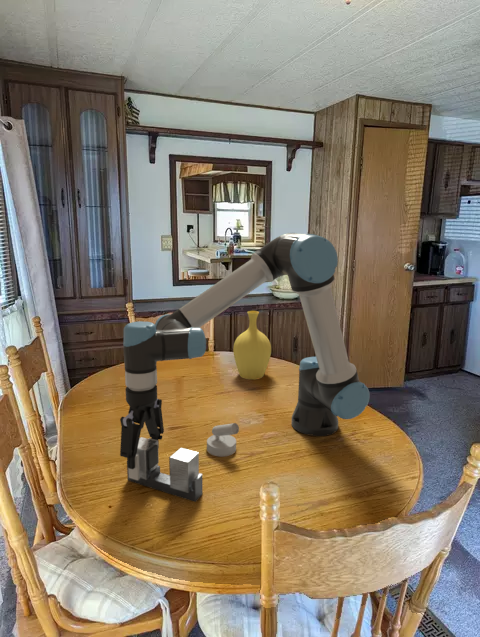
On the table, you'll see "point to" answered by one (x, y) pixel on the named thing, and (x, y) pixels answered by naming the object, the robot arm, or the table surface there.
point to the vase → (252, 350)
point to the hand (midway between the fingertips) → (144, 469)
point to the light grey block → (147, 457)
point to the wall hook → (222, 440)
